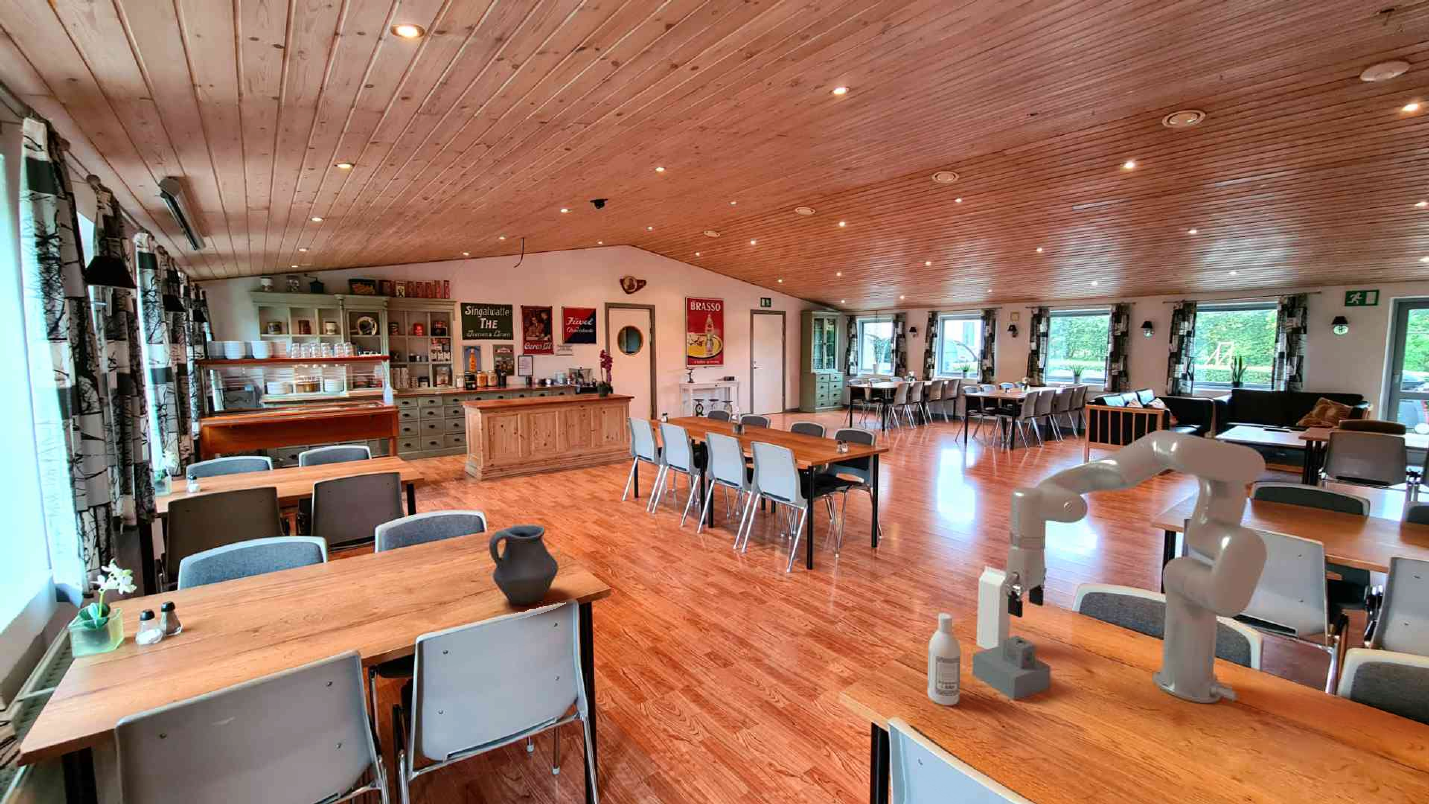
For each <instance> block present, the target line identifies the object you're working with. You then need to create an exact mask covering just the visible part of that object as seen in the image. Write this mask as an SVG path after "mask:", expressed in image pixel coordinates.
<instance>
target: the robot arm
mask: <svg viewBox="0 0 1429 804" xmlns="http://www.w3.org/2000/svg"><path fill="white" fill-rule="evenodd" d="M1168 469H1169V470H1172V471H1176V472H1179V473H1184V474H1187V475H1192V476H1195V478H1196V480H1197V483H1198V487H1199V491H1198V497H1197V500H1196V504H1195V506H1194V509H1193V511H1192V514H1191V517H1190V519H1189V522H1188V526H1187V527H1186V530H1185V535H1184V539H1185V543H1186V545H1187V546H1188V548H1189V549H1190V550H1192V551H1193V552H1195V553H1197V554H1199V555H1201V556H1203V557H1205V558H1207V559H1209V560H1212V561H1213V564H1212V565H1211V564H1210V563H1208V562H1205V561H1203V560H1201V559H1197V558H1194V557H1191V556H1177V557H1175V558H1173V559H1170V560H1169V561H1168V562H1167V564H1165V566H1164V569H1163V572H1162V574H1163V575H1162V583H1163V588H1164V589H1163V590H1164V595H1165V615H1164V618H1165V619H1164V635H1163V647H1162V660H1161V661H1162V663H1161V664H1162V665H1161V669H1159V670H1157V671H1155V672H1154V673H1153V681H1154V683H1155V684H1156V686H1158V687H1159V688H1160V689H1162V690H1163V691H1164V692H1166V693H1168V694H1170V695H1173V696H1174V697H1177V698H1180V699H1183V700H1185V701H1191V702H1195V703H1201V704H1211V703H1216V702H1218V701H1219V700H1220V699H1221V697H1223V698H1225V699H1228V700H1230V701H1233V702H1235V701H1236V699H1237V692H1235V691H1234V690H1233V686H1229V685H1226V684H1222V683H1221V682H1220V681H1218V677H1219V675H1217V674H1214V673H1215V657H1216V655H1215V654H1216V646H1217V645H1216V644H1217V643H1216V642H1217V629H1218V620H1217V616H1218V617H1219V618H1220V617H1221V618H1233V617H1234V618H1235V617H1237V616H1239V615H1241V614H1243V612H1244V611H1245V610H1246V609H1247V608H1248V607H1249V604H1250V603H1251V600H1252V599H1253V596H1254V593H1255V591H1256V588H1257V586H1258V583H1259V580H1260V578H1261V576H1262V573H1263V570H1264V568H1265V564H1266V561H1267V558H1268V557H1267V555H1268V552H1267V551H1268V550H1267V546H1266V543H1265V541H1264V539H1263V538H1262V537H1261V536H1260V535H1259V534H1258V533H1257V532H1255V531H1254V530H1252V529H1250V528H1247V527H1245V526H1242V525H1241V524H1242V520H1243V518H1244V517H1243V516H1244V515H1245V514H1244V513H1245V510H1246V507H1247V502H1248V496H1247V495H1248V494H1247V489H1246V486H1245V485H1249V484H1252V483H1253V484H1254V483H1255V482H1257V481H1258V480H1260V479H1261V478H1262V476H1263V475H1264V473H1265V470H1266V461H1265V459H1264V457H1263V456H1262V454H1260V452H1259V451H1257V450H1256V449H1254V448H1252V447H1250V446H1246V445H1240V444H1236V443H1230V442H1225V441H1222V440H1217V439H1209V438H1205V437H1201V436H1197V435H1193V434H1190V433H1189V434H1188V433H1183V432H1178V431H1174V430H1168V429H1161V430H1160V429H1159V430H1155V431H1152V432H1149V433H1147V434H1145V435H1143V436H1142V437H1140V438H1138V439H1137V440H1135V441H1133V442H1131V443H1129V444H1127V445H1126V446H1124V447H1122V448H1120V449H1118V450H1116V451H1115V452H1113V453H1111V454H1109V455H1107V456H1105V457H1103V458H1099V459H1095V460H1091V461H1087V462H1085V463H1081V464H1077V465H1073V466H1071V467H1068V468H1065V469H1063V470H1060V471H1059V472H1057V473H1055V474H1053V475H1051V476H1049V477H1047V478H1046V479H1044V480H1042V481H1041V482H1039V483H1038V484H1037V485H1036V486H1035V487H1026V486H1025V487H1024V486H1022V487H1021V486H1020V487H1015V488H1013V489H1012V490H1011V492H1010V497H1009V498H1010V500H1009V503H1010V505H1009V547H1008V552H1007V556H1006V557H1007V558H1006V564H1005V565H1006V566H1005V572H1006V577H1005V589H1006V594H1007V598H1008V613H1009V614H1010V616H1014V617H1017V618H1022V617H1023V612H1024V611H1023V609H1024V608H1023V605H1024V604H1023V603H1024V602H1023V600H1022V599H1023V596H1024V593H1025V592H1028V603H1029V604H1033V605H1035V606H1036V605H1037V606H1038V607H1042V606H1044V592H1045V591H1044V589H1045V582H1046V578H1047V577H1046V574H1047V570H1048V569H1047V567H1045V566H1046V562H1045V550H1046V531H1047V530H1046V529H1047V528H1046V527H1047V522H1048V521H1049V522H1056V523H1063V524H1071V523H1072V524H1075V523H1077V522H1080V521H1081V520H1083V519H1084V518H1085V517H1086V515H1087V514H1088V510H1089V509H1088V503H1087V502H1086V501H1087V500H1085V498H1084V497H1083V496H1081V495H1084V494H1088V493H1093V492H1103V491H1105V492H1106V491H1109V492H1113V491H1114V492H1118V491H1127V490H1130V489H1133V488H1135V487H1136V486H1138V485H1140V484H1141V483H1144V482H1146V481H1147V480H1150V479H1151V478H1153V477H1154V476H1156V475H1158V474H1160V473H1162V472H1165V471H1166V470H1168ZM1046 521H1047V522H1046ZM1017 592H1018V593H1017Z"/></svg>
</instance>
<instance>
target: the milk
mask: <svg viewBox="0 0 1429 804" xmlns="http://www.w3.org/2000/svg"><path fill="white" fill-rule="evenodd" d="M1005 577H1006V570H1001V569H998V568H994V567H992V566H988V565H985V566H984V571H983V572H982V574H981V575H980V577H979V579H978V591H977V592H978V593H977V595H978V597H977V598H978V600H977V625H976V629H977V630H976V646H977V647H979V648H981V649H984V650H987V649H991V648H994V647H997V646H1001V645H1003V640H1004V639H1008V638H1010V625H1011V624H1010V623H1011V614H1009V613H1008V598H1007V594H1006V589H1005Z"/></svg>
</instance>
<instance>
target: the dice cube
mask: <svg viewBox="0 0 1429 804" xmlns="http://www.w3.org/2000/svg"><path fill="white" fill-rule="evenodd" d="M1036 652H1037V645H1036V643H1034V642H1032V641H1030V640H1028V639H1027V638H1023V637H1021V636H1019V635H1014V636H1011V637H1009V638H1008V639H1004V640H1003V660H1005V661H1007V662H1009V663H1010V664H1012V665H1014V666H1016V667H1018V668H1020V669H1023V668H1026V667H1028V666H1031V665H1034V664H1035V658H1036Z"/></svg>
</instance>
